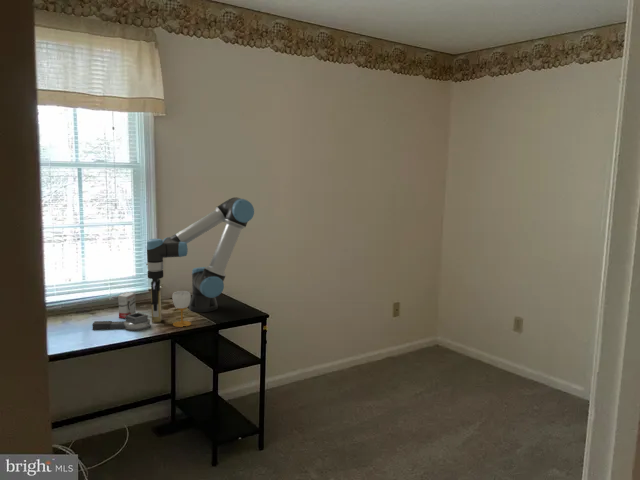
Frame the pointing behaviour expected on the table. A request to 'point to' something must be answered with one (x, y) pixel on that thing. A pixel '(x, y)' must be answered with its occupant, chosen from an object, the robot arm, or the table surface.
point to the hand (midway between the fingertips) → (156, 315)
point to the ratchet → (125, 323)
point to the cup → (181, 305)
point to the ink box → (126, 304)
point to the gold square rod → (158, 319)
